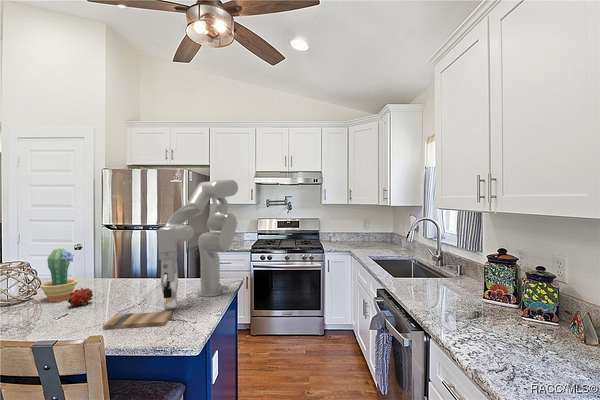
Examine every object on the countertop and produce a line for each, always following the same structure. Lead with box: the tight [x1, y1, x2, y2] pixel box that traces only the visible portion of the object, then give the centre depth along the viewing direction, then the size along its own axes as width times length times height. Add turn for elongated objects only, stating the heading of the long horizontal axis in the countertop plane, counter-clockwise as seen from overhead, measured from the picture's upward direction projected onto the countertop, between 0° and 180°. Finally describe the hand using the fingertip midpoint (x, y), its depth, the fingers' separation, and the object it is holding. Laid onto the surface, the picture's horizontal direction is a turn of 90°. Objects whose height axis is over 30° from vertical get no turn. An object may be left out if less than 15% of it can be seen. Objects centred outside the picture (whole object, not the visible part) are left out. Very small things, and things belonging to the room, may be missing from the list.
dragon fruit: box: [67, 287, 94, 308], centre depth 153 cm, size 8×8×12 cm
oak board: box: [102, 310, 173, 331], centre depth 130 cm, size 22×12×2 cm, turn 98°
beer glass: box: [160, 272, 179, 310], centre depth 144 cm, size 7×7×15 cm
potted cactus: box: [39, 247, 78, 303], centre depth 163 cm, size 15×15×25 cm
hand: (169, 294), depth 144 cm, fingers closed on beer glass, 6 cm apart
